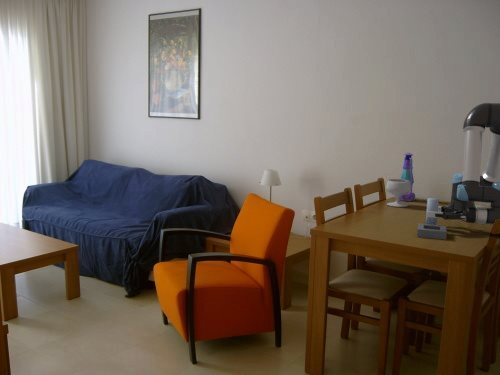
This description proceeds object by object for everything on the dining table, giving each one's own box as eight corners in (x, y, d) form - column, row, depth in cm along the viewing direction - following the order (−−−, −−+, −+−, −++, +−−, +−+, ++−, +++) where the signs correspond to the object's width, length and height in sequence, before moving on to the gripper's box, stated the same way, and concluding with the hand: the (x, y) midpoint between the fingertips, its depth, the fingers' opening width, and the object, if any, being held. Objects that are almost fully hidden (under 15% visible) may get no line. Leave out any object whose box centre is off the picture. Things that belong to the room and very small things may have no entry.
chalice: (380, 204, 283) (381, 179, 280) (394, 202, 291) (396, 178, 288) (400, 208, 272) (401, 183, 269) (414, 206, 280) (416, 181, 277)
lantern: (419, 201, 294) (422, 153, 289) (401, 202, 292) (405, 153, 287) (409, 197, 307) (412, 151, 302) (392, 198, 305) (395, 151, 300)
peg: (436, 226, 230) (438, 198, 228) (436, 229, 226) (438, 200, 223) (425, 225, 232) (427, 197, 230) (425, 228, 227) (427, 199, 225)
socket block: (444, 233, 218) (445, 225, 218) (446, 239, 207) (446, 231, 207) (417, 230, 222) (417, 223, 222) (417, 236, 211) (417, 229, 211)
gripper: (477, 229, 210) (427, 224, 217) (472, 217, 233) (426, 213, 240) (479, 212, 209) (428, 208, 216) (473, 202, 232) (427, 199, 239)
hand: (427, 211), depth 228 cm, fingers open, 13 cm apart
